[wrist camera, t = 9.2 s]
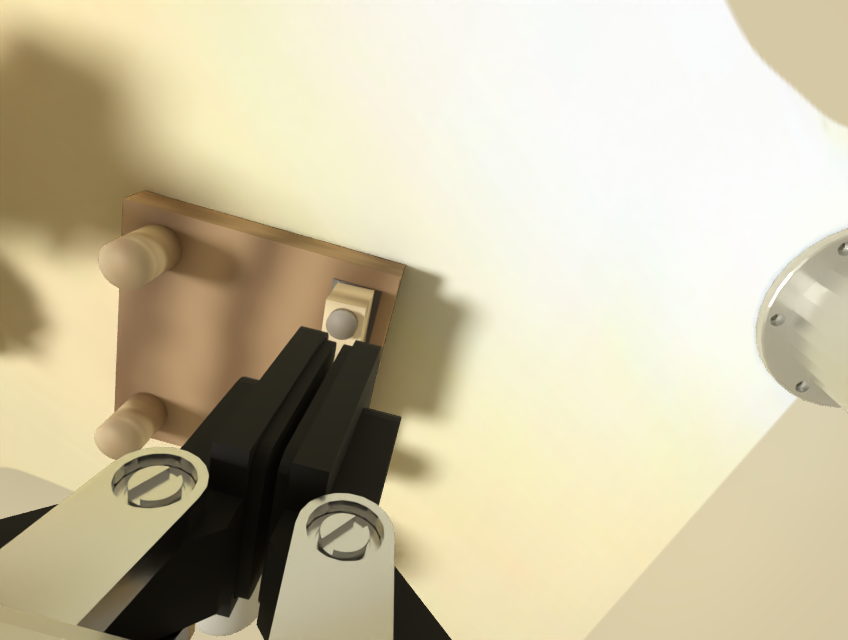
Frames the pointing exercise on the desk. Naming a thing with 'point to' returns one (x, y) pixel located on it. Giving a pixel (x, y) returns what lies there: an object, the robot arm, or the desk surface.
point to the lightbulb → (233, 617)
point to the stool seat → (214, 310)
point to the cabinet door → (347, 314)
